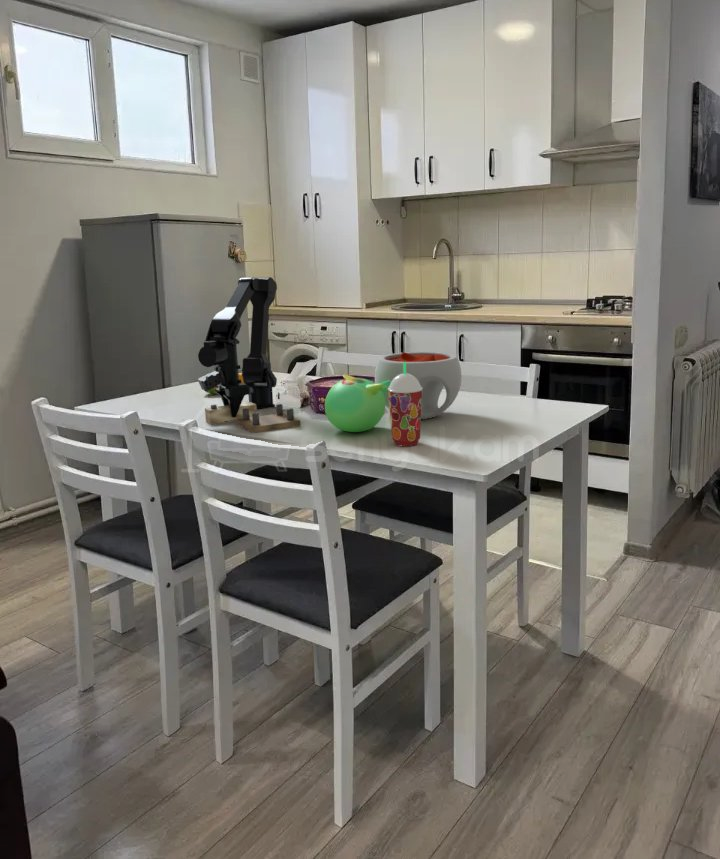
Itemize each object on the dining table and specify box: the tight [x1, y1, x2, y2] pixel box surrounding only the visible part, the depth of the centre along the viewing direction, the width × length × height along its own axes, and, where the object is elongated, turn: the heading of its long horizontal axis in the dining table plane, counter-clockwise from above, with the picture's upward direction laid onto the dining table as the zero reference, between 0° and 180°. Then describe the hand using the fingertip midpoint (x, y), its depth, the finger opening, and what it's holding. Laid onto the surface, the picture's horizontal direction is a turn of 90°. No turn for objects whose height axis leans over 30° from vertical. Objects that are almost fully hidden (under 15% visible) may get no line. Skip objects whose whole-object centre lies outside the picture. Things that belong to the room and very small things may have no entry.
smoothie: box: [388, 362, 423, 447], centre depth 183 cm, size 8×8×20 cm
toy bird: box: [324, 374, 391, 433], centre depth 199 cm, size 18×17×15 cm
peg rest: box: [236, 403, 302, 433], centre depth 210 cm, size 14×12×4 cm
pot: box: [374, 351, 463, 420], centre depth 213 cm, size 24×24×18 cm
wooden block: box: [204, 401, 258, 425], centre depth 219 cm, size 14×4×5 cm, turn 118°
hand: (231, 415), depth 219 cm, fingers closed on wooden block, 4 cm apart
